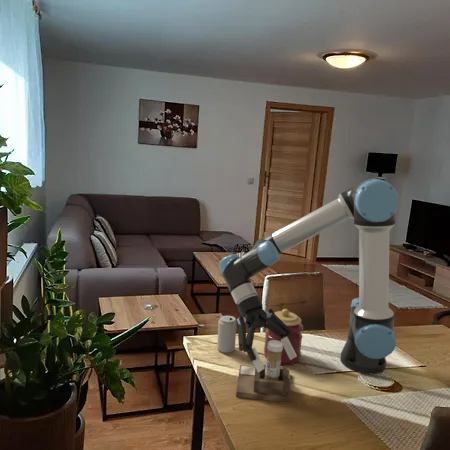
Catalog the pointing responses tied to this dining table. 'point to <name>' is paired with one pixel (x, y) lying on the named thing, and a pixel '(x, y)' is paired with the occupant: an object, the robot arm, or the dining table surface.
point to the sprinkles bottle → (273, 360)
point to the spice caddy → (263, 385)
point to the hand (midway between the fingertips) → (278, 364)
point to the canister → (295, 336)
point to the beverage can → (226, 334)
